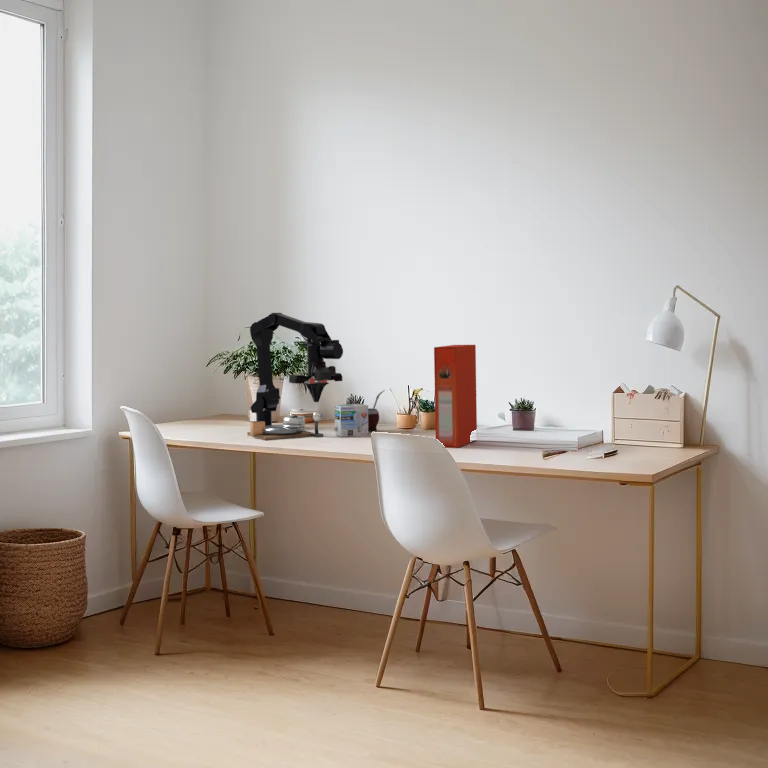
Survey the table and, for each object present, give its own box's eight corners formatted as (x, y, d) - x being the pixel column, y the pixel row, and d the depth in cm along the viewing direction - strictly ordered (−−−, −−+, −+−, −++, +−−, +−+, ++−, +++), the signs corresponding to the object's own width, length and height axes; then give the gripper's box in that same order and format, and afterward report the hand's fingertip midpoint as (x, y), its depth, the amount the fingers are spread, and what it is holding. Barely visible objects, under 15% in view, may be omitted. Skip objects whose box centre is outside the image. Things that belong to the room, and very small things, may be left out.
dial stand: (304, 436, 348) (303, 411, 348) (316, 434, 351) (316, 410, 350) (310, 437, 344) (309, 412, 343) (323, 436, 346) (322, 412, 346)
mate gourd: (356, 431, 360) (355, 389, 359) (373, 429, 365) (373, 388, 364) (368, 433, 354) (367, 391, 353) (385, 431, 359) (385, 389, 358)
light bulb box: (340, 437, 344) (340, 406, 343) (334, 435, 350) (333, 404, 349) (369, 435, 348) (369, 404, 347) (362, 433, 354) (362, 403, 353)
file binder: (434, 446, 318) (434, 346, 315) (454, 439, 333) (453, 344, 331) (458, 448, 314) (457, 347, 312) (477, 441, 330) (476, 344, 327)
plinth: (247, 435, 353) (247, 432, 353) (296, 431, 362) (296, 428, 362) (264, 440, 339) (264, 437, 339) (315, 436, 348) (315, 433, 348)
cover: (278, 425, 354) (278, 415, 354) (299, 424, 358) (299, 413, 358) (287, 428, 347) (287, 417, 347) (309, 426, 351) (309, 415, 351)
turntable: (243, 432, 351) (243, 420, 351) (291, 428, 360) (291, 416, 360) (260, 437, 338) (259, 424, 338) (309, 432, 347) (309, 420, 347)
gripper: (301, 360, 343) (302, 405, 345) (349, 358, 353) (349, 402, 354) (288, 359, 353) (289, 403, 354) (335, 357, 362) (335, 399, 364)
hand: (316, 402), depth 356 cm, fingers closed
